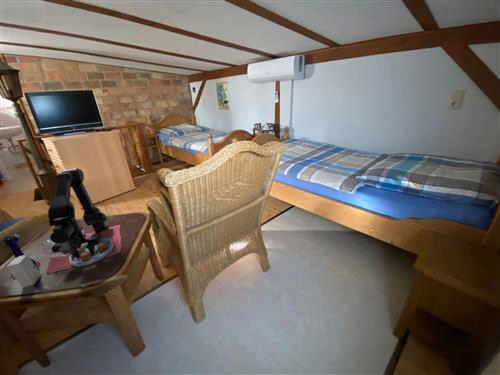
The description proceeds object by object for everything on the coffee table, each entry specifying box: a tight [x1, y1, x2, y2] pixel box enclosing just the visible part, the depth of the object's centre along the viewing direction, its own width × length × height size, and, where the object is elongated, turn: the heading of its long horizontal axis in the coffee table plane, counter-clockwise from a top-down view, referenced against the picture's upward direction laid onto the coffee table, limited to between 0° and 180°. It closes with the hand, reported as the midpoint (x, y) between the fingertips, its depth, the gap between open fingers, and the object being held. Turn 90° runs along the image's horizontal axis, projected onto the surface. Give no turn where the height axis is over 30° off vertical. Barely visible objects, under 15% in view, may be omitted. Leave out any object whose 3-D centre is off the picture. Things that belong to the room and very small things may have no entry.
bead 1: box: [77, 245, 86, 256], centre depth 102 cm, size 4×4×4 cm
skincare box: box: [6, 254, 42, 288], centre depth 88 cm, size 6×4×12 cm
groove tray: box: [68, 237, 115, 268], centre depth 104 cm, size 18×18×3 cm
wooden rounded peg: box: [97, 242, 108, 253], centre depth 104 cm, size 4×4×4 cm
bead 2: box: [79, 251, 93, 262], centre depth 98 cm, size 4×4×4 cm
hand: (86, 256), depth 98 cm, fingers open, 6 cm apart
